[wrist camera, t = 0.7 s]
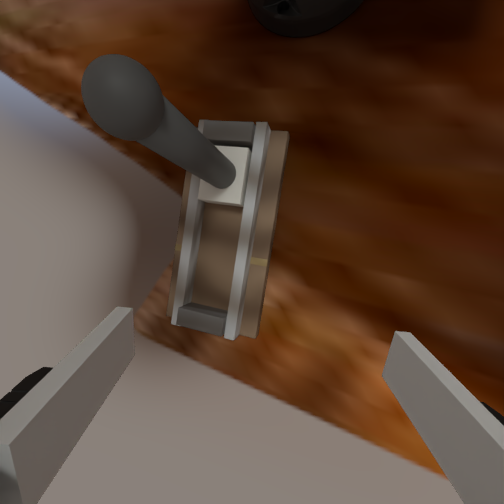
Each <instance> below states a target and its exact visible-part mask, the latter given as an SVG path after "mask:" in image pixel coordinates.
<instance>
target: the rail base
mask: <svg viewBox="0 0 504 504" xmlns="http://www.w3.org/2000/svg"><path fill="white" fill-rule="evenodd" d="M196 128H197V129H198V130H199V131H200V132H201V133H202V134H203V135H204V136H205V137H206V138H207V139H208V140H209V141H210V142H211V143H212V144H213V145H214V146H230V147H245V148H249V150H250V151H251V152H252V155H251V162H250V168H249V175H248V181H247V188H246V195H245V201H244V207H238V206H230V205H222V204H214V203H207V202H204V201H202V200H199V199H198V193H199V186H200V178H199V177H197V176H195V175H194V174H192V173H190V172H188V171H187V170H186V175H185V182H184V189H183V197H182V204H181V211H180V219H179V226H178V233H177V240H176V245H175V255H174V262H173V270H172V277H171V284H170V292H169V299H168V306H167V313H166V316H169V317H172V321H171V324H174V325H177V326H183V327H187V328H191V329H195V330H198V331H202V332H206V333H210V334H214V335H217V336H222V335H223V334H224V338H226V339H230V340H235V339H236V338H237V336H238V335H243V336H247V337H251V338H256V337H257V336H258V333H259V327H260V320H261V314H262V308H263V302H264V295H265V289H266V283H267V276H268V270H269V264H270V258H271V251H272V245H273V239H274V232H275V226H276V220H277V214H278V207H279V201H280V195H281V188H282V182H283V176H284V169H285V163H286V157H287V151H288V144H289V138H290V136H289V132H288V131H271V130H270V127H269V125H268V123H267V122H256V126H255V124H254V122H238V121H211V120H199V126H198V127H196Z"/></svg>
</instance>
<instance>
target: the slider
mask: <svg viewBox="0 0 504 504" xmlns="http://www.w3.org/2000/svg"><path fill="white" fill-rule="evenodd" d="M81 90H82V97H83V101H84V104H85V106H86V109H87V111H88V113H89V114H90V116H91V117H92V119H93V120H94V121H95V122H96V123H97V124H98V125H99V126H100V127H101V128H102V129H103V130H105V131H106V132H107V133H109V134H111V135H113V136H115V137H117V138H120V139H124V140H135V141H137V142H139V143H140V144H142V145H144V146H146V147H147V148H149V149H151V150H152V151H154V152H156V153H158V154H159V155H161V156H163V157H164V158H166V159H168V160H170V161H171V162H173V163H175V164H176V165H178V166H180V167H182V168H183V169H185V170H187V171H188V172H190V173H192V174H194V175H195V176H197V177H199V178H200V186H199V193H198V199H199V200H202V201H204V202H207V203H214V204H222V205H230V206H238V207H244V201H245V195H246V188H247V181H248V175H249V168H250V162H251V155H252V152H251V151H250V150H249V148H245V147H230V146H214V145H213V144H212V143H211V142H210V141H209V140H208V139H207V138H206V137H205V136H204V135H203V134H202V133H201V132H200V131H199V130H198V129H197V128H196V127H195V126H194V125H193V124H192V123H191V122H190V121H189V120H188V119H187V118H186V117H185V116H184V115H183V114H182V113H180V112H179V111H178V110H177V109H176V108H175V107H174V106H173V105H172V104H171V103H170V102H169V101H168V100H167V99H166V98H165V97H164V96H163V95H162V92H161V89H160V87H159V85H158V83H157V81H156V80H155V78H154V77H153V75H152V74H151V73H150V72H149V71H148V70H147V69H146V68H145V67H144V66H143V65H142V64H140V63H139V62H137V61H136V60H134V59H132V58H129V57H127V56H123V55H118V54H108V55H104V56H101V57H98V58H97V59H95V60H94V61H92V62H91V63H90V64H89V66H88V67H87V68H86V70H85V72H84V75H83V78H82V85H81Z"/></svg>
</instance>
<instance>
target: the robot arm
mask: <svg viewBox="0 0 504 504" xmlns="http://www.w3.org/2000/svg"><path fill="white" fill-rule="evenodd" d="M363 1H364V0H248V2H249V5H250V8H251V10H252V12H253V14H254V16H255V17H256V18H257V20H258V21H259V22H260V23H261V24H262V25H263V26H264V27H266V28H267V29H269V30H270V31H272V32H274V33H277V34H280V35H283V36H288V37H305V36H310V35H315V34H318V33H321V32H323V31H326V30H328V29H330V28H332V27H334V26H336V25H337V24H339V23H340V22H342V21H343V20H345V19H346V18H347V17H348V16H350V15H351V14H352V13H353V12H354V11H355V10H356V9H357V8H358V7H359V6H360V4H361V3H362V2H363ZM134 355H135V350H134V324H133V308H128V307H116V308H115V309H114V310H113V311H112V312H111V313H110V314H109V315H108V316H107V317H106V318H105V319H104V320H103V321H102V322H101V323H100V324H99V325H98V326H96V327H95V328H94V329H93V330H92V332H90V334H88V335H87V336H86V337H85V338H84V339H83V340H82V341H81V342H80V343H79V344H78V345H77V346H76V347H75V348H74V349H73V350H72V351H71V352H70V353H69V354H67V355H66V356H65V357H64V358H63V359H62V360H61V361H60V363H58V364H57V365H56V366H55V367H54V368H50V367H43V368H41V369H39V370H37V371H36V372H34V373H32V374H30V375H29V376H27V377H25V378H24V379H23V380H22V381H21V382H20V383H19V384H18V385H16V386H15V387H14V388H13V389H12V391H11V392H9V393H8V394H6V395H5V396H4V397H3V398H2V399H1V400H0V504H37V503H38V501H39V500H40V498H41V497H42V495H43V494H44V492H45V491H46V489H47V488H48V486H49V484H50V483H51V482H52V480H53V479H54V477H55V476H56V474H57V472H58V471H59V469H60V468H61V466H62V465H63V463H64V462H65V460H66V459H67V457H68V456H69V454H70V453H71V451H72V450H73V448H74V447H75V445H76V444H77V442H78V441H79V439H80V437H81V436H82V434H83V433H84V431H85V430H86V428H87V427H88V425H89V424H90V422H91V421H92V419H93V418H94V416H95V415H96V413H97V411H98V410H99V409H100V407H101V405H102V404H103V403H104V401H105V399H106V398H107V396H108V395H109V393H110V392H111V390H112V389H113V387H114V386H115V384H116V383H117V381H118V380H119V378H120V377H121V375H122V373H123V372H124V371H125V369H126V367H127V366H128V364H129V363H130V361H131V360H132V358H133V357H134ZM382 377H383V378H384V380H385V381H386V383H387V385H388V386H389V388H390V389H391V391H392V392H393V394H394V395H395V397H396V399H397V400H398V402H399V403H400V405H401V406H402V408H403V409H404V411H405V412H406V414H407V416H408V417H409V419H410V420H411V422H412V423H413V425H414V426H415V428H416V430H417V431H418V433H419V434H420V436H421V437H422V439H423V440H424V442H425V444H426V445H427V447H428V448H429V450H430V451H431V453H432V454H433V456H434V457H435V459H436V461H437V462H438V464H439V465H440V467H441V468H442V470H443V471H444V473H445V475H446V476H447V478H448V479H449V481H450V482H451V484H452V485H453V487H454V488H455V490H456V492H457V493H458V494H459V496H460V498H461V499H462V501H463V502H464V504H504V417H503V416H502V415H501V414H500V413H498V412H497V411H495V410H494V409H492V408H491V407H490V406H488V405H487V404H485V403H484V402H479V401H478V400H477V399H476V398H475V397H474V396H473V395H472V394H471V393H470V392H469V391H468V390H467V389H466V388H465V387H464V386H463V385H462V384H461V383H460V382H459V381H458V380H457V379H456V378H455V377H454V376H453V375H452V374H451V373H450V372H449V371H448V370H447V369H446V368H445V367H444V366H443V365H442V364H441V363H440V362H439V361H438V360H437V359H436V358H435V357H434V356H433V355H432V354H431V353H430V352H429V351H428V350H427V349H426V348H425V347H424V346H423V345H422V344H421V343H420V342H419V341H418V340H417V339H416V338H415V337H414V336H413V335H412V334H411V333H410V332H399V331H395V333H394V337H393V340H392V343H391V347H390V350H389V353H388V357H387V360H386V363H385V367H384V370H383V373H382Z"/></svg>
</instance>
